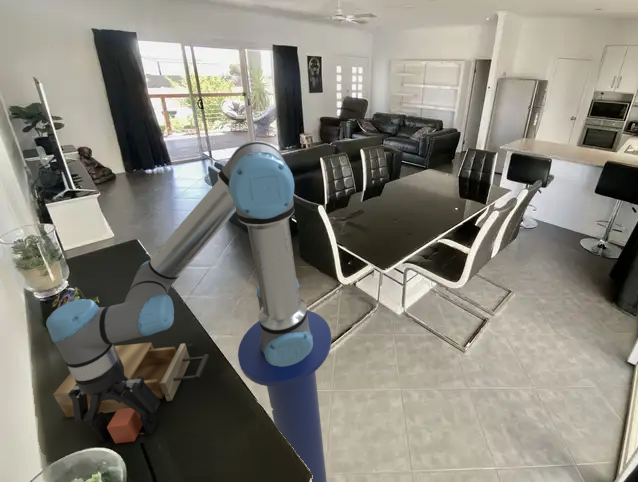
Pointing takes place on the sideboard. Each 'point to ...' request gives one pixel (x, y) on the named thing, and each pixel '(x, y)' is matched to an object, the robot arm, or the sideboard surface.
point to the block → (125, 425)
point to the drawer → (167, 369)
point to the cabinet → (131, 361)
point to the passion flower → (71, 298)
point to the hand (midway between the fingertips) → (129, 432)
